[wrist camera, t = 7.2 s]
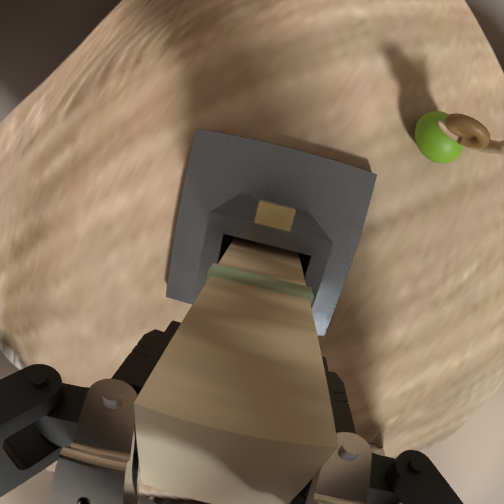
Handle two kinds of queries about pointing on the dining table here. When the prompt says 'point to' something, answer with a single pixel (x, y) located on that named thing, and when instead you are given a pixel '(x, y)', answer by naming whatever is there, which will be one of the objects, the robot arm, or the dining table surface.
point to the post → (239, 388)
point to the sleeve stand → (268, 213)
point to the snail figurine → (452, 136)
